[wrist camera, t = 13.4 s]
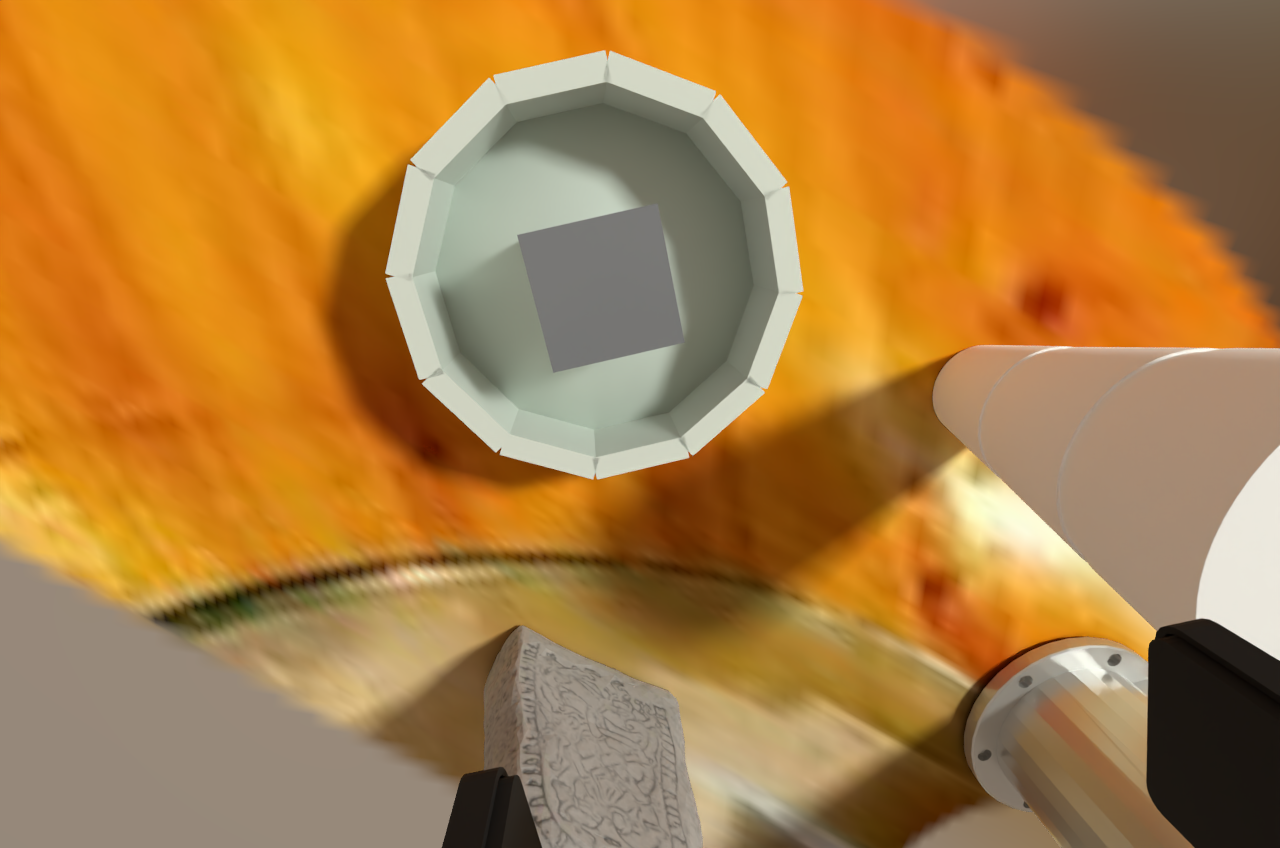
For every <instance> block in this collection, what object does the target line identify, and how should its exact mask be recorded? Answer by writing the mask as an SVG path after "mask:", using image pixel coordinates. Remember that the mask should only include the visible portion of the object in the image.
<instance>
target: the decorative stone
mask: <svg viewBox="0 0 1280 848" xmlns="http://www.w3.org/2000/svg"><path fill="white" fill-rule="evenodd" d="M484 711H485V712H484V732H485V742H484V762H485V764H484V770H488V769H492V768H497V767H504V769H505V770H506V772H507V774H508V776H512V775H518V776H519V777H520V779H521V782H522V785H523V788H524V791H525V795H526V798H527V801H528V804H529V807H530V810H531V814H532V817H533V820H534V823H535V826H536V829H537V833H538V836H539V839H540V842H541V845H542V848H703V840H702V833H701V825H700V819H699V816H698V813H697V806H696V802H695V798H694V795H693V791H692V788H691V784H690V780H689V776H688V772H687V768H686V763H685V752H684V744H685V741H684V736H683V729H682V724H681V719H680V712H679V705H678V701H677V699H676V698H675V697H674V696H673V695H672V694H671V693H670V692H669V691H668V690H665V689H662V688H659V687H656V686H654V685H651V684H648V683H645V682H642V681H639V680H636V679H634V678H631V677H629V676H627V675H625V674H623V673H621V672H619V671H618V670H616V669H614V668H610V667H607V666H606V665H604V664H601V663H598V662H595V661H593V660H590V659H588V658H586V657H583V656H581V655H579V654H577V653H574V652H572V651H570V650H568V649H566V648H564V647H562V646H560V645H558V644H556V643H554V642H552V641H551V640H549V639H547V638H545V637H544V636H542V635H540V634H538V633H537V632H535V631H533V630H531V629H529V628H527V627H525V626H519V627H518V628H517V629H515V630H514V631H513V632H512V633H511V634H510V636H509V637H508V638H507V640H506V642H505V643H504V645H503V647H502V649H501V651H500V652H499V653H498V655H497V657H496V659H495V662H494V664H493V667H492V669H491V670H490V673H489V675H488V678H487V681H486V684H485V688H484Z"/></svg>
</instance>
